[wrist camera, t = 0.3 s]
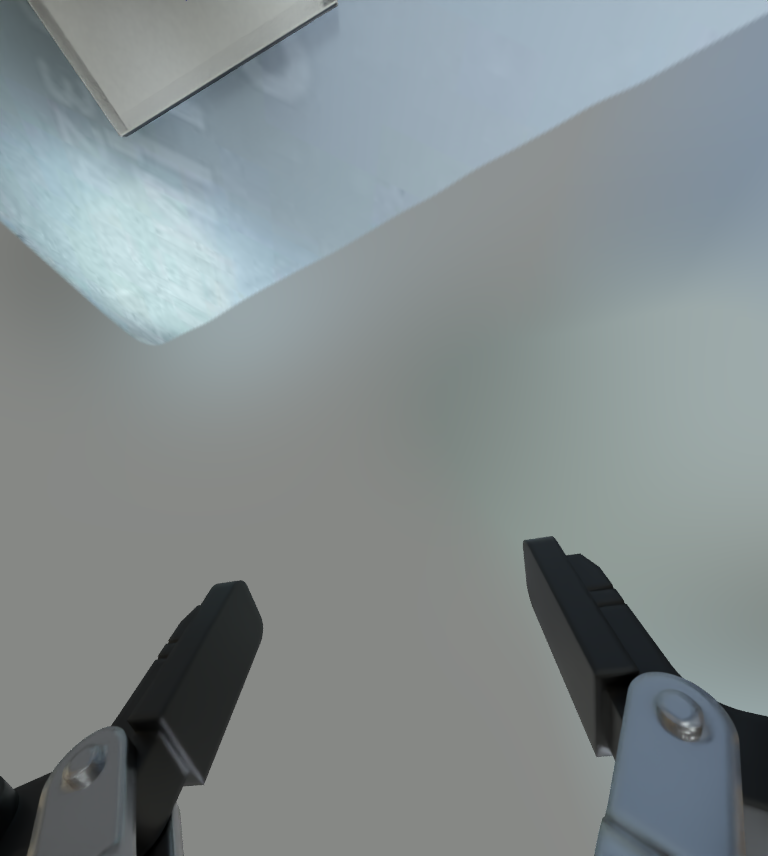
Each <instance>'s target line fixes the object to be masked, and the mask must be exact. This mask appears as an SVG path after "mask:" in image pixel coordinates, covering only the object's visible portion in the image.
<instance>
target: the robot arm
mask: <svg viewBox="0 0 768 856" xmlns="http://www.w3.org/2000/svg"><path fill="white" fill-rule="evenodd" d="M523 551H524V561H525V571H526V582H527V589H528V593H529V597H530V601H531V604H532V607H533V609H534V611H535V614H536V616H537V619H538V621H539V623H540V626H541V628H542V630H543V633H544V635H545V637H546V639H547V642H548V644H549V647H550V649H551V652H552V654H553V656H554V659H555V661H556V663H557V665H558V668H559V670H560V673H561V675H562V677H563V680H564V682H565V684H566V687H567V689H568V691H569V693H570V696H571V698H572V700H573V703H574V705H575V708H576V710H577V712H578V714H579V717H580V719H581V722H582V724H583V726H584V729H585V731H586V733H587V736H588V738H589V741H590V743H591V745H592V748H593V750H594V752H595V754H596V756H597V757H601V756H613V757H614V759H615V766H614V772H613V778H612V783H611V789H610V795H609V801H608V806H607V810H606V814H605V817H603V819H602V822H601V825H600V830H599V834H598V839H597V844H596V849H595V855H594V856H768V717H767V716H762V715H758V714H754V713H749V712H745V711H741V710H737V709H734V708H731V707H728V706H726V705H723V704H721V703H719V702H717V701H716V700H715V699H714V698H713V697H712V696H711V695H710V694H708V693H707V692H706V691H704V690H703V689H702V688H700V687H699V686H697V685H695V684H694V683H692V682H690V681H688V680H686V679H684V678H682V677H681V676H680V675H679V674H678V673H677V671H676V670H675V669H674V668H673V667H672V665H671V664H670V662H669V661H668V660H667V658H666V657H665V656H664V654H663V653H662V652H661V650H660V649H659V648H658V646H657V645H656V643H655V642H654V641H653V639H652V638H651V637H650V635H649V634H648V633H647V631H646V630H645V629H644V627H643V626H642V624H641V623H640V622H639V620H638V619H637V618H636V616H635V615H634V613H633V612H632V611H631V610H630V608H629V607H628V606H627V604H625V603H624V600H623V599H622V597H621V596H620V595H619V593H618V592H617V590H616V589H614V588H613V585H612V584H611V582H610V581H609V579H608V578H607V577H606V575H605V574H604V573H603V571H602V570H601V569H600V567H598V566H597V565H595V564H594V563H593V562H591V561H590V560H589V559H587V558H586V557H584V556H583V555H581V554H574V555H565V553H564V552H563V550H562V548H561V547H560V546H559V544H558V542H557V541H556V539H555V538H554V537H553V536H550V537H543V538H536V539H529V540H524V541H523ZM262 633H263V623H262V619H261V616H260V614H259V611H258V609H257V607H256V605H255V602H254V600H253V598H252V596H251V593H250V591H249V589H248V587H247V585H246V583H245V582H244V581H241V580H240V581H233V582H227V583H220V584H216V585H214V586H213V587H212V588H211V590H210V591H209V593H208V594H207V596H206V598H205V599H204V601H203V602H202V604H201V605H199V606H197V607H196V608H195V609H194V610H193V611H192V612H191V613H190V614H189V615H187V616H186V617H185V618H184V619H183V620H182V621H181V623H180V624H179V625H178V627H177V628H176V630H175V631H174V633H173V634H172V636H171V637H170V639H169V643H168V644H166V645H165V646H164V648H163V649H162V651H161V652H160V654H159V655H158V660H155V661H154V663H153V664H152V666H151V667H150V669H149V670H148V672H147V673H146V675H145V676H144V678H143V679H142V681H141V682H140V684H139V685H138V687H137V688H136V690H135V691H134V693H133V694H132V696H131V697H130V699H129V700H128V702H127V703H126V705H125V706H124V708H123V709H122V711H121V712H120V714H119V715H118V717H117V718H116V720H115V721H114V722H113V724H112V725H111V726H109V727H106V728H102V729H100V730H98V731H96V732H94V733H92V734H91V735H89V736H88V737H86V738H85V739H83V740H82V741H81V742H80V743H78V744H77V745H76V746H75V747H74V748H73V749H72V750H70V751H69V752H68V753H67V754H66V756H65V757H64V758H63V759H62V760H61V761H60V762H59V764H58V765H57V766H56V767H55V769H54V770H53V772H51V773H49V774H47V775H44V776H42V777H40V778H37V779H35V780H33V781H31V782H28V783H26V784H24V785H22V786H19V787H17V788H15V789H13V788H12V787H11V786H10V785H9V784H8V783H7V782H6V781H5V780H4V779H3V778H2V777H1V776H0V856H184V852H183V841H182V829H181V818H180V810H179V806H178V805H177V803H176V801H177V799H178V796H179V794H180V792H181V790H182V787H183V786H193V785H204V783H205V780H206V778H207V775H208V773H209V770H210V768H211V765H212V763H213V760H214V758H215V755H216V753H217V750H218V748H219V745H220V743H221V740H222V737H223V735H224V733H225V730H226V727H227V725H228V723H229V720H230V718H231V715H232V713H233V710H234V708H235V705H236V703H237V700H238V698H239V695H240V692H241V690H242V688H243V685H244V683H245V680H246V678H247V675H248V673H249V670H250V668H251V665H252V663H253V660H254V658H255V655H256V652H257V650H258V648H259V645H260V642H261V639H262Z"/></svg>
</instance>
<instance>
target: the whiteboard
mask: <svg viewBox="0 0 768 856" xmlns="http://www.w3.org/2000/svg"><path fill="white" fill-rule="evenodd" d="M27 1H28V2H29V4H30V5H31V7H32V8H33V9H34V11H35V12H36V14H37V15H38V17H39V18H40V20H41V21H42V23H43V24H44V26H45V27H46V29H47V30H48V31H49V33H50V34H51V36H52V37H53V39H54V40H55V42H56V43H57V45H58V46H59V48H60V49H61V51H62V52H63V53H64V55H65V56H66V58H67V59H68V61H69V62H70V64H71V65H72V67H73V68H74V70H75V71H76V73H77V74H78V75H79V77H80V78H81V80H82V81H83V83H84V84H85V86H86V87H87V89H88V90H89V92H90V93H91V95H92V96H93V97H94V99H95V100H96V102H97V103H98V105H99V106H100V108H101V109H102V111H103V112H104V114H105V115H106V117H107V118H108V119H109V121H110V122H111V124H112V125H113V127H114V128H115V130H116V131H117V133H118V134H119V136H120V137H126V136H129V135H131V134H132V133H134V132H135V131H137V130H139V129H140V128H142V127H143V126H145V125H147V124H148V123H150V122H151V121H153V120H155V119H156V118H158V117H159V116H161V115H163V114H164V113H166V112H168V111H169V110H171V109H172V108H174V107H176V106H177V105H179V104H180V103H182V102H184V101H185V100H187V99H188V98H190V97H192V96H193V95H195V94H196V93H198V92H200V91H201V90H203V89H204V88H206V87H208V86H209V85H211V84H213V83H214V82H216V81H217V80H219V79H221V78H222V77H224V76H225V75H227V74H229V73H230V72H232V71H233V70H235V69H237V68H238V67H240V66H241V65H243V64H245V63H246V62H248V61H249V60H251V59H253V58H254V57H256V56H258V55H259V54H261V53H262V52H264V51H266V50H267V49H269V48H270V47H272V46H274V45H275V44H277V43H278V42H280V41H282V40H283V39H285V38H286V37H288V36H290V35H291V34H293V33H294V32H296V31H298V30H299V29H301V28H303V27H304V26H306V25H307V24H309V23H311V22H312V21H314V20H315V19H317V18H319V17H320V16H322V15H323V14H325V13H327V12H328V11H330V10H331V9H333V8H335V7H336V6H338V2H337V0H27Z"/></svg>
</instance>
